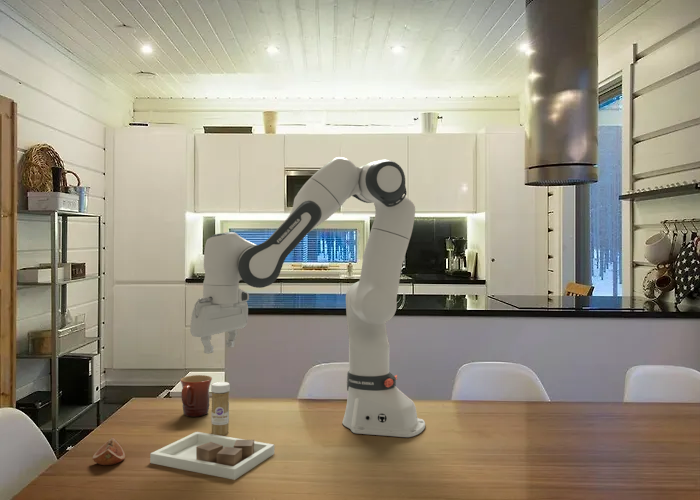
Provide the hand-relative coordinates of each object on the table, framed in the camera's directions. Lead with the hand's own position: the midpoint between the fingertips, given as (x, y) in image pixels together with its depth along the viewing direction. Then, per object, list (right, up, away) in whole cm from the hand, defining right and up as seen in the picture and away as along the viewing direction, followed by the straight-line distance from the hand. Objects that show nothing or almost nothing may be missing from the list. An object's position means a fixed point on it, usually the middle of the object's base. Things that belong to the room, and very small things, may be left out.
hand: (219, 349), depth 147 cm
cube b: (+2, -22, -21) cm, 30 cm away
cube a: (+7, -22, -23) cm, 33 cm away
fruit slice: (-20, -22, -19) cm, 36 cm away
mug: (-11, -22, +17) cm, 30 cm away
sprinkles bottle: (0, -22, 0) cm, 22 cm away
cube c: (+10, -22, -18) cm, 30 cm away
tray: (+3, -22, -17) cm, 28 cm away
